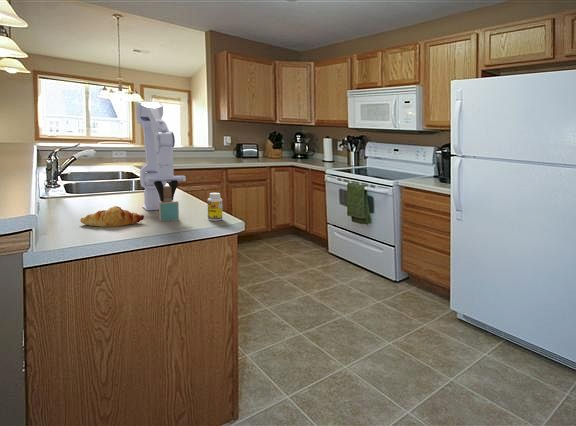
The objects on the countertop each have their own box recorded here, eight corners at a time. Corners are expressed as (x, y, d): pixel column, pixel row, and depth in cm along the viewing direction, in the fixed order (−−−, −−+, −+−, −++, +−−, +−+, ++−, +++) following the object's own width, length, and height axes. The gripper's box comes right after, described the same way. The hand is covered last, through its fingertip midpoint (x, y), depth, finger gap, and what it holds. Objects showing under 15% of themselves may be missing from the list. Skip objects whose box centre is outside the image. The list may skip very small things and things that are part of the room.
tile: (159, 220, 154) (158, 202, 153) (178, 219, 158) (177, 201, 156) (160, 221, 153) (159, 203, 151) (179, 219, 156) (178, 201, 155)
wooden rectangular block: (162, 209, 157) (161, 186, 155) (169, 208, 159) (169, 185, 157) (164, 211, 155) (163, 187, 153) (172, 210, 156) (171, 187, 154)
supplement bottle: (204, 219, 157) (204, 193, 155) (214, 217, 162) (213, 191, 160) (216, 221, 155) (215, 195, 152) (225, 219, 159) (225, 193, 157)
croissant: (80, 237, 142) (75, 219, 137) (83, 218, 150) (79, 201, 145) (144, 233, 148) (142, 216, 143) (144, 215, 155) (143, 198, 150)
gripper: (147, 166, 146) (149, 203, 149) (187, 165, 154) (188, 201, 156) (143, 164, 152) (145, 200, 155) (182, 163, 160) (183, 198, 162)
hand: (166, 200), depth 156 cm, fingers closed on wooden rectangular block, 3 cm apart
